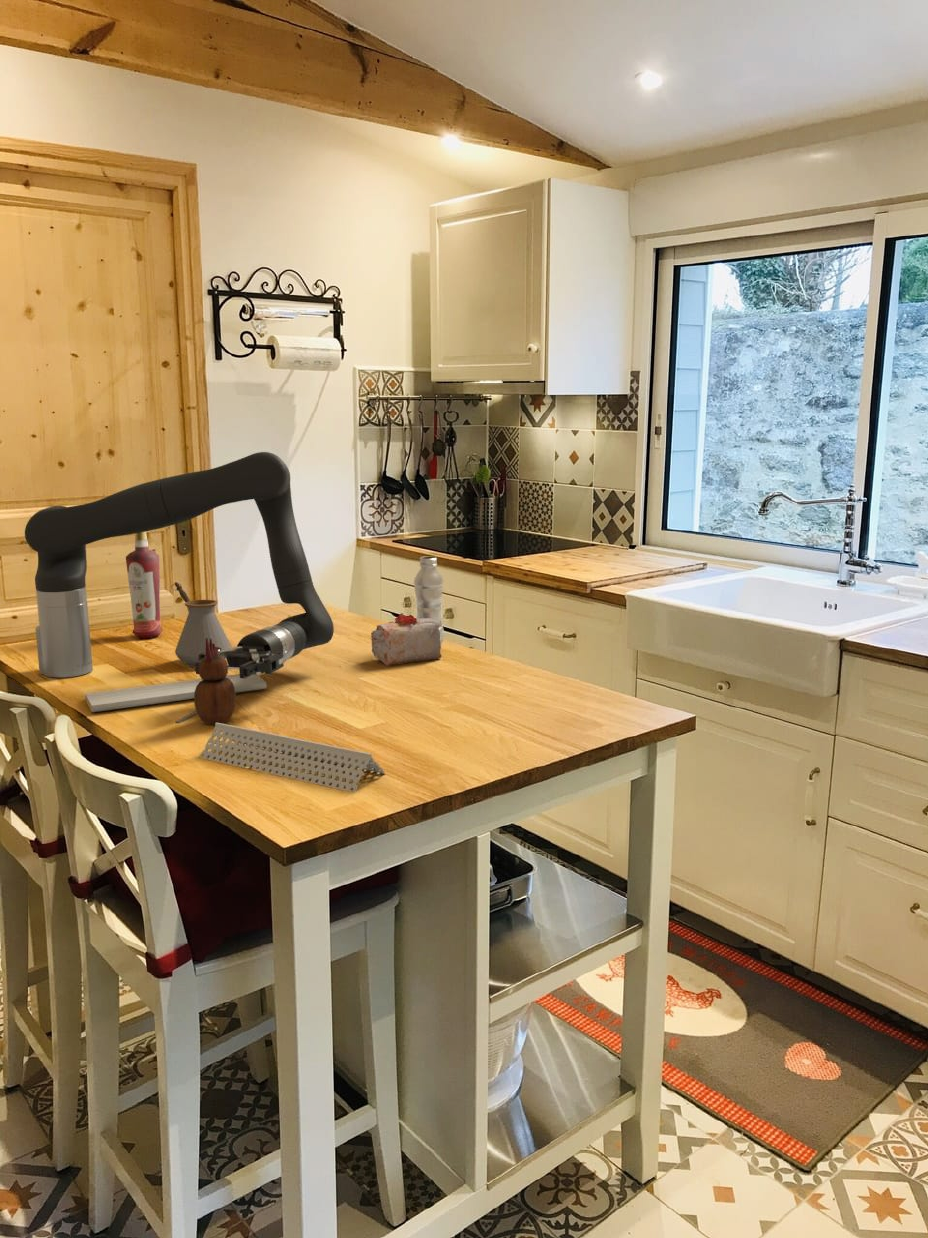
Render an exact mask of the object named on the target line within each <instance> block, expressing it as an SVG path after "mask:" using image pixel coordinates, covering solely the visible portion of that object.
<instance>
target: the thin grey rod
mask: <svg viewBox="0 0 928 1238" xmlns="http://www.w3.org/2000/svg"><path fill="white" fill-rule="evenodd" d="M236 694H238V693H235V695H236ZM195 714H196V715H198V714H197V711H196V710H195V711H193V712H191V713H189V714H188V715H185V716H183V717H181V718H180V719H178V720H177V719H176V720H175V723H176V722H180V723H182V722H185V721H186V720H188V719H190V718H192V717H194V716H196V715H195ZM193 715H194V716H193ZM191 716H192V717H191ZM189 717H190V718H189ZM185 719H186V720H185ZM181 721H182V722H181Z"/></svg>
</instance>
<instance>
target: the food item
mask: <svg viewBox="0 0 928 1238" xmlns="http://www.w3.org/2000/svg"><path fill="white" fill-rule="evenodd" d="M370 635H371V637H370V638H371V652H372V653H373V655H374V656H376V659H378V660H379V661H381V662H382V663H383V664H385V665H386V666H387V667H388V666H389V667H390V666H391V665H392V666H396V664H397V665H402V663H403V664H409V663H414V662H415V663H417V662H423V661H424V660H426V661H430V660H431V661H432V660H437V659H438V660H439V659H441V658H442V654H441V647H442V644H441V642H440V632H439V624H438V623H436V622H435V621H434V620H433V619H431V618H424V619H417V617H414V616H413V615H412V614H409V615H405V614H404V613H402V612H401V613H399V614H398V616H396V617H395V618H394V621H393V622H388V623H382V624H378V625H376V628H375V630H372V632H370Z"/></svg>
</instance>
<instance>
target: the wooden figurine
mask: <svg viewBox="0 0 928 1238" xmlns="http://www.w3.org/2000/svg"><path fill="white" fill-rule="evenodd" d="M228 673H229V670H228V663H227V660H226V659H224V658H223V657H219V654H218V649H217V647H215V644H212V639H210V643H209V642H208V638H206V658H204V659H202V660H201V662H200V664H199V674H198V676H199V677H200V679H203V680H202V681H200V682H199V684H198V685H197V686H196V689H195V693H194V700H193V701H194V707H195V711H197V714H196V715H198V718H199V720H200V721H202V722H203V723H204V724H206V725H211V726H213V725H214V726H215V723H221V724H225V723H226V722H228V721H230V719H231V718H232V717H233V714H234V710H235V706H236V694H235V688H234V685H233V683H232V681H231V680H230V679H229V678H227V677H226V676H227V675H228Z"/></svg>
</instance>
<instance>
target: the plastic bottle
mask: <svg viewBox="0 0 928 1238" xmlns="http://www.w3.org/2000/svg"><path fill="white" fill-rule="evenodd" d="M437 559H438V558H437V556H431V555H430V556H420V557H419V567H420V569H419V570H418V572H417V574H416V575H415V577H414V580H413V586H414V592H415V598H416V599H415V601H416V619H424V618H431V619H433V620H434V621H435V622H436V623H438V624H439V632H440V642H441V645H442V644H443V642H444V638H445V630H444V627H443V622H442V621H443V617H442V596H443V589H444V587H443V586H444V580H443V577H442V575H441V574H440V571H439V570H438V569H437V567H438V563H437V562H438V561H437Z"/></svg>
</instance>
